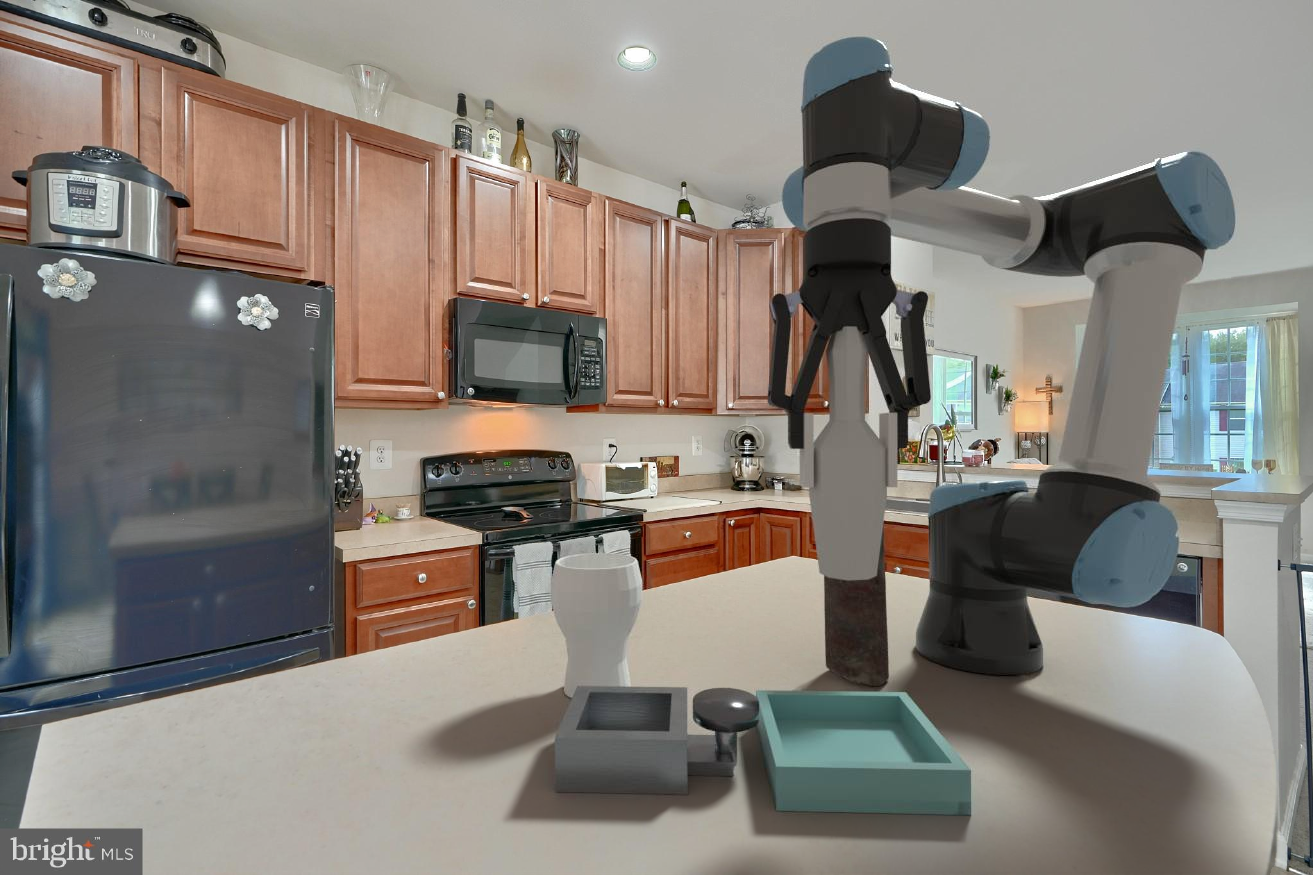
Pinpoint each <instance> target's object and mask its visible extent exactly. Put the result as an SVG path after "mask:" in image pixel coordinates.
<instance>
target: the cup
mask: <svg viewBox="0 0 1313 875" xmlns="http://www.w3.org/2000/svg"><path fill="white" fill-rule="evenodd" d="M552 572H553V573H552V576H551V582H550V603H551V607H552V611H553V614H554V618H555V621H556V623H557V626H558V628H559V630H560V632H561V633H562V635H563V636H564V639H565V644H566V653H567V663H566V669H565V676H564V684H563V692H564V694H565V695H566V696H567V697H568V698H570V699H572V697H573V695H574V693H575V690H576V688H577V686H622V687H632V686H631V679H630V677H631V676H630V673H629V672H630V671H629V666H628V659H627V652H628V645H629V636H630V634H631V632H632V630H633V628H634V626H635V623H636V621H637V619H638V616H639V612H640V608H641V604H642V601H643V579H642V574H641V571H640V566H639V561H638V560H637V558H636V557H633V556H632V555H627V554H622V553H607V552H606V553H605V552H601V553H600V552H598V553H597V552H595V553H580V554H573V555H567V556H564V557H561V558H558V559H557V560H556V561H555V563H554V567H553V571H552Z"/></svg>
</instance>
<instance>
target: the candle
mask: <svg viewBox="0 0 1313 875" xmlns="http://www.w3.org/2000/svg"><path fill="white" fill-rule="evenodd" d="M884 522H885V521H884ZM884 522H883V530H882V538H881V545H880V553H879V561H878V569H877V576H875V577H873V578H870V579H868V580H842V579H836V578H829V577H827V576H825V575H823V586H824V587H823V594H824V595H823V596H824V599H823V600H824V602H823V603H824V604H823V605H824V606H823V607H824V608H823V609H824V647H825V648H824V649H825V653H824V654H825V667H826V668H827V669H828V670H829V671H832V672H833V674H835V675H837V676H841V677H842V678H844V679H846V680H848V681H851V682H855V683H859V684H863V685H864V686H866V687H867V686H869V687H879V686H881V685H883V684H884V683H886V681H888V680H889V678H890V673H889V671H890V670H889V664H890V663H889V662H890V661H889V638H888V636H889V635H888V614H887V611H888V610H887V585H886V584H887V582H886V580H887V579H886V557H885V556H886V555H885V554H886V551H885V549H886V548H885V547H886V545H885V523H884Z"/></svg>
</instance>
